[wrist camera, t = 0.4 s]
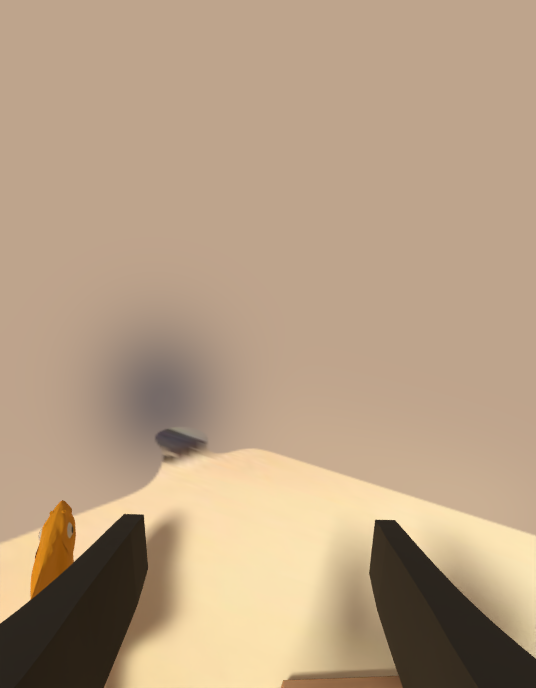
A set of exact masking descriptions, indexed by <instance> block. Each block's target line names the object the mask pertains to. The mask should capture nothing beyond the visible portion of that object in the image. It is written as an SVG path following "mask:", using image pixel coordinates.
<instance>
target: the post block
mask: <svg viewBox="0 0 536 688" xmlns="http://www.w3.org/2000/svg"><path fill="white" fill-rule="evenodd" d="M281 688H403V687H402V684H401V681H400V678H399V676H384V677H358V678H332V679H306V680H283V683H282V686H281Z"/></svg>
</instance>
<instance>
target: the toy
mask: <svg viewBox="0 0 536 688" xmlns="http://www.w3.org/2000/svg"><path fill="white" fill-rule="evenodd" d="M75 537H76V532H75V520H74V517H73V515H72V509H71V507H70V506H69V505H68V504H67V503H66V502H65V501H63V500H62V501H61V502H60V503H59V504H58V505H57V506H56V507H55V509H54V510H53V511H51V512H50V517H49V518H48V520H47V521H46V523H45V524H44V526H43V527H42V529H41V530H40V532H39V540H40V544H39V547H38V550H37V552H36V556H35V563H34V566H33V571H32V576H31V599H33V598H34V597H35V596H36V595H37V594H38V593H40V592H41V591H42V590H43V589H44V588H45V587H47V586H48V585H49V584H50V583H51V582H52V581H53V580H55V579H56V578H57V577H58V576H59V575H60V574H62V573H63V572H64V571H65V570H66V569H67V568H68V567H69V566H70V565H71V564H72V563H73V562H74V561H73V550H74V545H75Z"/></svg>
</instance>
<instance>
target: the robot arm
mask: <svg viewBox="0 0 536 688" xmlns="http://www.w3.org/2000/svg"><path fill="white" fill-rule="evenodd" d="M147 570H148V562H147V550H146V537H145V525H144V515H137V514H124V515H123V516H122V517H121V518H120V519H119V520H117V521H116V522H115V523H114V524H113V525H112V526H111V527H110V528H109V529H108V530H107V531H106V532H105V533H104V534H103V535H102V536H101V537H100V538H99V539H98V540H97V541H96V542H95V543H94V544H93V545H92V546H91V547H90V548H88V549H87V550H86V551H85V552H84V553H83V554H82V555H81V556H80V557H79V558H78V559H77V560H76V561H75V562H73V563H72V564H71V565H70V566H69V567H68V568H67V569H66V570H65V571H64V572H63V573H62V574H60V575H59V576H58V577H57V578H56V579H55V580H53V581H52V582H51V583H50V584H49V585H48V586H47V587H45V588H44V589H43V590H42V591H41V592H40V593H38V594H37V595H36V596H35V597H34V598H33V599H31V600H30V601H29V602H28V603H26V604H25V605H24V606H23V607H21V608H20V609H19V610H18V611H16V612H15V613H14V614H12V615H11V616H10V617H8V618H7V619H6V620H4V621H3V622H2V623H1V624H0V688H104V686H105V683H106V681H107V678H108V676H109V673H110V671H111V668H112V666H113V664H114V661H115V659H116V656H117V654H118V651H119V649H120V647H121V644H122V642H123V639H124V637H125V634H126V632H127V629H128V627H129V625H130V622H131V620H132V617H133V615H134V612H135V610H136V607H137V604H138V601H139V598H140V594H141V591H142V588H143V584H144V581H145V577H146V574H147ZM369 574H370V579H371V584H372V589H373V593H374V598H375V602H376V606H377V611H378V614H379V617H380V620H381V623H382V626H383V629H384V633H385V636H386V639H387V642H388V645H389V648H390V651H391V654H392V657H393V660H394V663H395V666H396V669H397V672H398V675H399V678H400V681H401V684H402V687H403V688H536V659H535V658H534V657H533V656H532V655H531V654H529V653H528V652H527V651H526V650H524V649H523V648H522V647H521V646H520V645H518V644H517V643H516V642H515V641H514V640H513V639H511V638H510V637H509V636H508V635H507V634H506V633H504V632H503V631H502V630H501V629H500V628H499V627H498V626H496V625H495V624H494V623H493V622H492V621H491V620H490V619H489V618H487V617H486V616H485V615H484V614H483V613H482V612H481V611H480V610H479V609H478V608H477V607H476V606H475V605H474V604H473V603H472V602H471V601H469V600H468V599H467V598H466V597H465V596H464V595H463V594H462V593H461V592H460V591H459V590H458V589H457V588H456V587H455V586H454V585H453V584H452V583H451V582H450V580H449V579H448V578H447V577H446V576H445V575H444V574H443V573H442V572H441V571H440V570H439V569H438V568H437V567H436V566H435V565H434V563H433V562H432V561H431V560H430V559H429V558H428V557H427V556H426V555H425V554H424V552H423V551H422V550H421V549H420V548H419V547H418V546H417V545H416V543H415V542H414V541H413V540H412V539H411V538H410V537H409V535H408V534H407V533H406V532H405V531H404V530H403V529H402V528H401V526H400V525H399V524H398V523H397V522H396V521H395V520H375V526H374V535H373V544H372V553H371V562H370V571H369Z"/></svg>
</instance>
